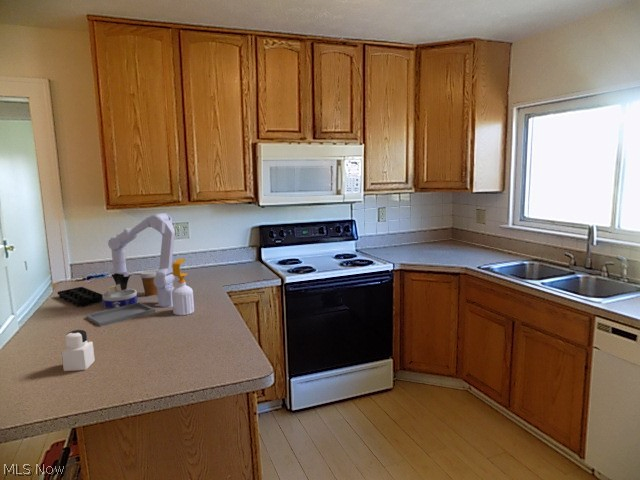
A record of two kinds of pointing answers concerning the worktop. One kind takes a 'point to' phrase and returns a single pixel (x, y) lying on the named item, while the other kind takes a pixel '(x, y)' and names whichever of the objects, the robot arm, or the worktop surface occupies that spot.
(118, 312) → the parts tray
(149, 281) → the disposable coffee cup
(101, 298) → the egg carton
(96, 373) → the worktop surface
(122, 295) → the dog bowl
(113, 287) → the pebble
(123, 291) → the pebble
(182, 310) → the soap bottle
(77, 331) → the medicine bottle
